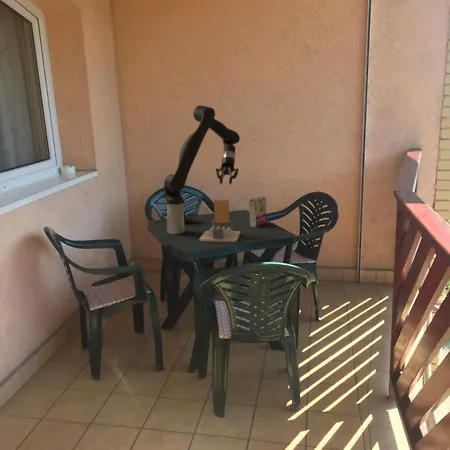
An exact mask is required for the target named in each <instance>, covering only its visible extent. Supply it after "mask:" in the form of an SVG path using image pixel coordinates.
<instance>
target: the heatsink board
mask: <svg viewBox="0 0 450 450" xmlns="http://www.w3.org/2000/svg"><path fill="white" fill-rule="evenodd" d="M215 224H216V223H215V219H212V220H211V228H210V229H209V230H205V231H204V232H203V233H202V235H200V238H198V239H199V242H215V243H216V242H217V243H218V242H221V243H223V242H225V243H237V241H238V240H239V238H240V235H241V231H234V230H233V220H231V219H229V223H228V224H229V226H228V227H227V228H226V226H222V228H221V226H220V225H217V227H216V228H215Z"/></svg>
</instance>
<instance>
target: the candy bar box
mask: <svg viewBox="0 0 450 450" xmlns="http://www.w3.org/2000/svg"><path fill="white" fill-rule="evenodd" d="M266 198H267V197H266V196H257V197H254V198H252V199H248V201H249V204H248V206H249V209H248V210H249V227H251V228H259V227H261V226H264V225H266V224H267V199H266Z"/></svg>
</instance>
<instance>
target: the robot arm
mask: <svg viewBox="0 0 450 450" xmlns="http://www.w3.org/2000/svg"><path fill="white" fill-rule="evenodd" d="M192 114H193V115H192V116H193V119H195V121H197V122H198V123H199V124H198V127H197V128H196V129H195V130H194V131H193V132H192V133H191V134H190V135H189V136H187V137H186V139H185V140H184V142H183V144H182V146H181V148H180V151H179V157H178V158H179V159H178V165H177V168H176V170H175V173H173V174H172V173H171V174H168V175H167V176H165V178H164V180H163V184H164V185H163V186H164V187H163V189H164V198H165V200H166V210H167V216H166V231H167V234H170V235H181V234H184V233H185V224H184V213H185V209H184V210H183V200H184V197H182V195H181V191H182V190H183V189H184V187H185V185H186V182H187V179H188V176H189V173H190V170H191V168H192V166H193V164H194V161H195V160H196V157H197V155H198V153H199V151H200V148H201V145H202V144H203V141H204V139H205V137H206V135H207V133H208V131H209V129H210V130H211V131H212V132H214V134H215V135H217V136H218V137H219V138H220V139H221V140H222V145H223V154H222V159H221V164H220V165H221V166H220V168H215V173H216V175H217V176H216V177H217V179H219V184H220V185H223V181H224V178H225V176H229V182H228V185H232V184H233V180H234V179H236V178H237V176H238V174H239V168H238V167H237V168H235V163H236V146H235V145H237V144H238V143H239V142H240V141H241V140H240V139H241V138H240V135H239V133H238V132H237V131H235V130H233V129H230V128H228V127H227V126H226V125H225V124H224V123H223V122H221V121H219V120H217V119H215V117H216V110H215V109H214V108H213V107H210V106H207V105H206V106H205V105H202V104H201V105H197V106H195V108H194V109H193V112H192ZM220 172H221V173H220ZM233 172H234V173H233ZM232 174H233V175H232Z"/></svg>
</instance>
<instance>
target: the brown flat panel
mask: <svg viewBox="0 0 450 450" xmlns="http://www.w3.org/2000/svg"><path fill="white" fill-rule="evenodd" d="M229 202H230V201H229V199H228V200H227V199H215V200H213V209H214V210H213V211H214V213H213V214H214V216H213V217H214V223H215V224H229V221H230V206H229V205H230V203H229Z"/></svg>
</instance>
